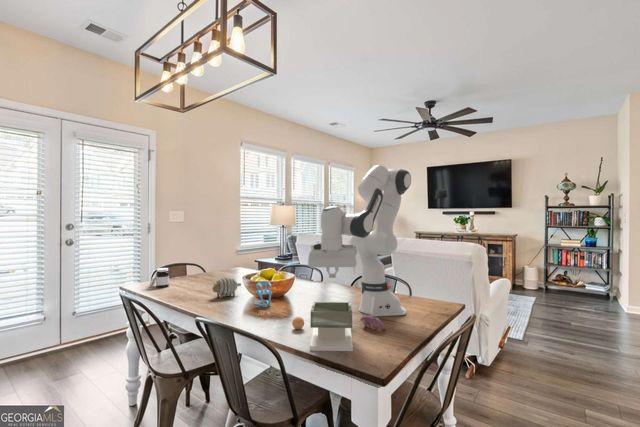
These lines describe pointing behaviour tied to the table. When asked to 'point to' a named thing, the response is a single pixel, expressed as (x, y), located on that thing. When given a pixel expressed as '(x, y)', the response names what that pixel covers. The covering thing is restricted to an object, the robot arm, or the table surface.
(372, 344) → the table surface
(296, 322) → the ball
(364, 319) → the purple grapes
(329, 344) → the white stand
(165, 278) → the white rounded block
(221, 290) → the toy sheep
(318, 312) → the green open box
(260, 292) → the light blue lumpy piece
